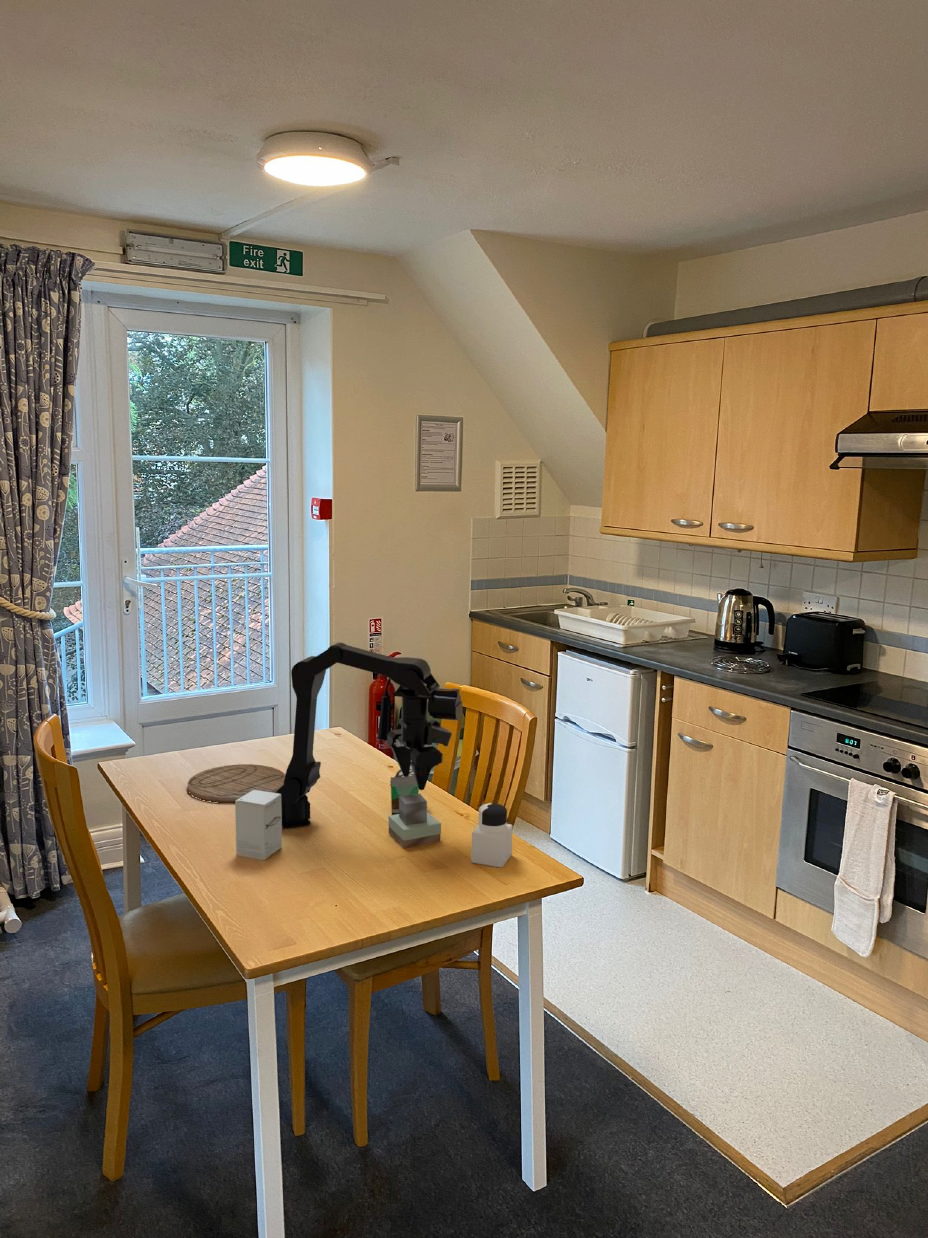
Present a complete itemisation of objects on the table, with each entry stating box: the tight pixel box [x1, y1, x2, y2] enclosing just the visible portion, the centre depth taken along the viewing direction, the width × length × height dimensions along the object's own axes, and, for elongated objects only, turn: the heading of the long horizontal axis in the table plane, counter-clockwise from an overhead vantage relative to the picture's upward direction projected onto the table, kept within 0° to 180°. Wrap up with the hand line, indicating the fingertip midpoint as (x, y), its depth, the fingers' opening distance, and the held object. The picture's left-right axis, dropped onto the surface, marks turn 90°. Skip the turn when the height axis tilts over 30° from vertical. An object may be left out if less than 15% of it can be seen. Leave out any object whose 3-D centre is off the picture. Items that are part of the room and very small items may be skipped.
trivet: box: [186, 763, 286, 804], centre depth 242 cm, size 25×25×2 cm
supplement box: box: [234, 790, 283, 861], centre depth 202 cm, size 7×7×13 cm
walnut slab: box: [388, 826, 441, 849], centre depth 212 cm, size 9×9×2 cm
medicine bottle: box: [470, 802, 513, 869], centre depth 201 cm, size 7×7×12 cm
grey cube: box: [399, 793, 428, 825], centre depth 211 cm, size 5×5×5 cm
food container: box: [389, 764, 420, 815], centre depth 228 cm, size 12×6×10 cm, turn 168°
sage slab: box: [387, 811, 442, 841], centre depth 212 cm, size 9×9×2 cm
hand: (413, 783), depth 210 cm, fingers open, 9 cm apart
